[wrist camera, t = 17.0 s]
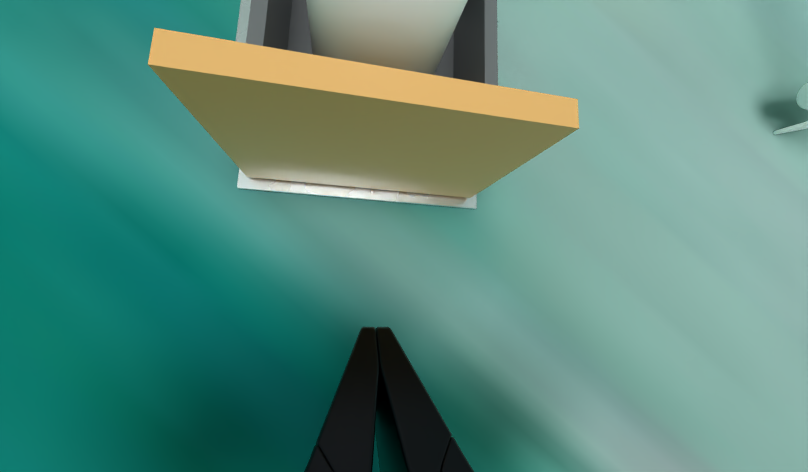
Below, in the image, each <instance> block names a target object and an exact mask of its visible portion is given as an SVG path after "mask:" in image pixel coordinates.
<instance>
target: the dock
mask: <svg viewBox="0 0 808 472" xmlns="http://www.w3.org/2000/svg"><path fill="white" fill-rule="evenodd" d="M250 5H251V0H241V4H240V12H239V20H238V28H237V35H236V42H241V43H246V37H247V29H248V21H249V13H250ZM237 188H238V189H246V190H258V191H270V192H281V193H293V194H304V195H316V196H328V197H339V198H351V199H362V200H374V201H385V202H397V203H409V204H420V205H432V206H443V207H455V208H467V209H476V195H474V196H473V197H471V198H466V197H456V196H445V195H434V194H423V193H413V192H402V191H391V190H381V189H370V188H359V187H348V186H338V185H327V184H316V183H306V182H295V181H284V180H273V179H263V178H252V177H247V176H246V175H245V174H244V173H243V172H242V171H241V170H240V168H239V176H238V184H237Z"/></svg>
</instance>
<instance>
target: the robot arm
mask: <svg viewBox="0 0 808 472" xmlns="http://www.w3.org/2000/svg"><path fill="white" fill-rule="evenodd" d="M375 432H376V441H377V449H378V458H379V467H380V472H474V471H473V469H472V468H471V466H470V464H469V463H468V461H467V460H466V458H465V456H464V455H463V453H462V451H461V450H460V448H459V446H458V444H457V443H456V441H455V439H454V438H453V437H451V432H450V431H449V429H448V427H447V426H446V424H445V422H444V420H443V419H442V417H441V415H440V413H439V412H438V410H437V408H436V406H435V405H434V403H433V401H432V400H431V398H430V396H429V394H428V393H427V391H426V389H425V387H424V386H423V384H422V382H421V380H420V379H419V377H418V375H417V373H416V372H415V370H414V368H413V367H412V365H411V363H410V361H409V360H408V358H407V356H406V354H405V353H404V351H403V349H402V347H401V346H400V344H399V342H398V341H397V339H396V337H395V335H394V334H393V332H392V330H391V329H390V328H389V327H377V328H376V329H375V327H362V328H361V330H360V332H359V335H358V337H357V340H356V343H355V345H354V348H353V350H352V353H351V355H350V358H349V360H348V363H347V365H346V368H345V371H344V373H343V376H342V378H341V381H340V383H339V386H338V388H337V391H336V393H335V396H334V399H333V401H332V404H331V406H330V409H329V411H328V414H327V416H326V419H325V421H324V424H323V426H322V429H321V432H320V434H319V437H318V439H317V442H316V445H315V446H314V449H313V451H312V454H311V457H310V459H309V462H308V464H307V466H306V469H305V471H304V472H372V465H373V451H374V437H375Z"/></svg>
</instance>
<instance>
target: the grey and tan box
mask: <svg viewBox="0 0 808 472" xmlns="http://www.w3.org/2000/svg"><path fill="white" fill-rule="evenodd" d="M148 65H149V66H150V67H151V68H152V69H153V71H154V72H155V73H156V74H157V75H158V76H159V77H160V79H161V80H162V81H163V82H164V83H165V84H166V85H167V87H168V88H169V89H170V90H171V91H172V92H173V93H174V94H175V96H176V97H177V98H178V99H179V100H180V101H181V102H182V104H183V105H184V106H185V107H186V108H187V109H188V110H189V112H190V113H191V114H192V115H193V116H194V117H195V118H196V119H197V121H198V122H199V123H200V124H201V125H202V126H203V127H204V129H205V130H206V131H207V132H208V133H209V134H210V135H211V137H212V138H213V139H214V140H215V141H216V142H217V143H218V145H219V146H220V147H221V148H222V149H223V150H224V151H225V152H226V154H227V155H228V156H229V157H230V158H231V159H232V160H233V162H234V163H235V164H236V165H237V166H238V167H239V168H240V170H241V171H242V172H243V173H244V174H245V175H246V176H247V177H252V178H263V179H273V180H284V181H295V182H306V183H316V184H327V185H338V186H348V187H359V188H370V189H381V190H391V191H402V192H413V193H423V194H434V195H445V196H456V197H466V198H471V197H473V196H474V195H476V194H477V193H479V192H481V191H482V190H484V189H485V188H487V187H488V186H490V185H491V184H493V183H495V182H496V181H498V180H499V179H501V178H502V177H504V176H505V175H507V174H509V173H510V172H512V171H513V170H515V169H516V168H518V167H520V166H521V165H523V164H524V163H526V162H527V161H529V160H530V159H532V158H534V157H535V156H537V155H538V154H540V153H541V152H543V151H544V150H546V149H548V148H549V147H551V146H552V145H554V144H555V143H557V142H558V141H560V140H562V139H563V138H565V137H566V136H568V135H569V134H571V133H573V132H574V131H576V130H577V129H579V119H578V99H574V98H568V97H562V96H556V95H550V94H544V93H538V92H532V91H526V90H520V89H514V88H508V87H502V86H498V63H497V0H468V1H467V3H466V5H465V7H464V10H463V12H462V14H461V16H460V18H459V21H458V23H457V25H456V27H455V29H454V32H453V34H452V36H451V38H450V40H449V43H448V45H447V47H446V49H445V51H444V54H443V56H442V58H441V60H440V62H439V65H438V67H437V69H436V71H435V73H434V75H431V74H425V73H419V72H414V71H408V70H402V69H396V68H390V67H384V66H378V65H372V64H366V63H360V62H354V61H348V60H342V59H336V58H330V57H325V56H319V55H313V53H312V45H311V36H310V28H309V19H308V11H307V2H306V0H251V5H250V13H249V21H248V29H247V37H246V43H241V42H236V41H230V40H224V39H218V38H212V37H206V36H200V35H194V34H188V33H182V32H176V31H170V30H164V29H158V28H154V33H153V39H152V44H151V50H150V56H149V61H148Z"/></svg>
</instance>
